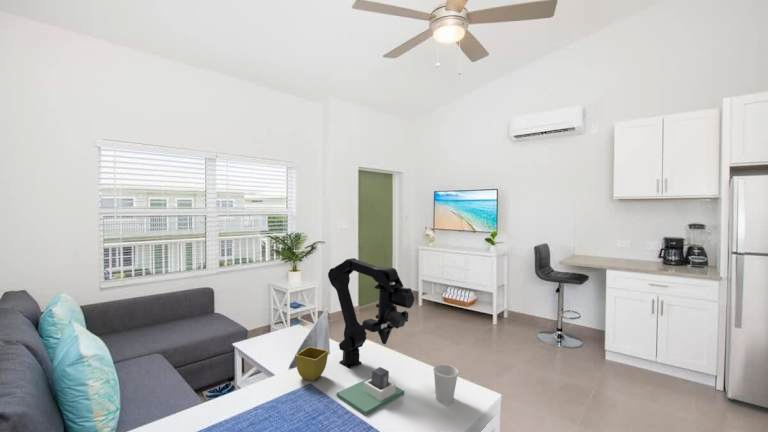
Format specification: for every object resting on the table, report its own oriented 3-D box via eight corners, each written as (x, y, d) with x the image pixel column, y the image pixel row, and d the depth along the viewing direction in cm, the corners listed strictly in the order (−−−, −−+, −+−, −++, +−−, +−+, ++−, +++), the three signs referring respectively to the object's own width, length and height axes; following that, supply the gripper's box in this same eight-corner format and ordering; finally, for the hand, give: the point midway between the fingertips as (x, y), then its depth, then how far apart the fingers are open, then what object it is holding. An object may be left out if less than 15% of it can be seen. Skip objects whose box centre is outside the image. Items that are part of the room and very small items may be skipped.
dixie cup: (429, 402, 113) (430, 372, 113) (435, 390, 121) (436, 362, 121) (454, 409, 110) (456, 378, 110) (458, 396, 118) (460, 367, 117)
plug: (370, 391, 115) (372, 370, 115) (379, 387, 118) (380, 366, 118) (380, 396, 112) (381, 375, 112) (388, 392, 115) (389, 371, 115)
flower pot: (293, 379, 123) (294, 354, 123) (307, 369, 131) (309, 346, 131) (314, 385, 120) (315, 360, 120) (327, 374, 128) (328, 350, 128)
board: (336, 396, 114) (336, 383, 114) (375, 378, 127) (375, 367, 127) (365, 415, 104) (366, 402, 104) (403, 394, 117) (404, 382, 117)
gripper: (384, 312, 115) (382, 358, 116) (419, 303, 129) (416, 344, 129) (362, 304, 123) (360, 347, 123) (396, 296, 136) (394, 335, 137)
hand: (384, 343), depth 128 cm, fingers closed
